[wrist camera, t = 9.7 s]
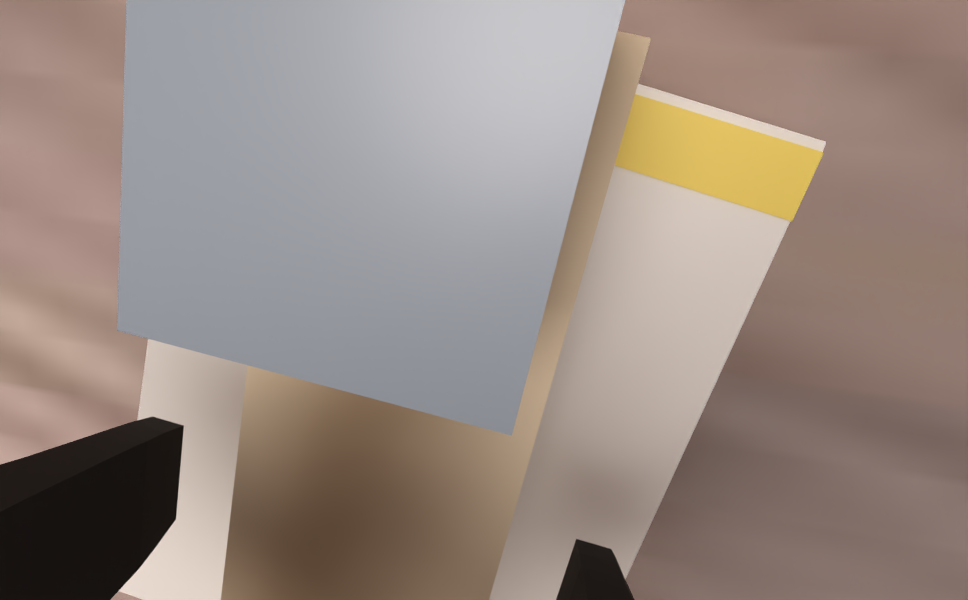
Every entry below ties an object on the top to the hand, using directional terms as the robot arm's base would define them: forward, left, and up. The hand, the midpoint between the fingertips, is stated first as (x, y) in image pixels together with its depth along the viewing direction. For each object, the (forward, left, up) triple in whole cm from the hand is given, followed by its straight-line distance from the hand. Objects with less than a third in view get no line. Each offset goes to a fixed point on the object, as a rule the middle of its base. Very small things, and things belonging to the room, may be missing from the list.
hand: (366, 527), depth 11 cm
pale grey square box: (+1, -7, 0) cm, 7 cm away
